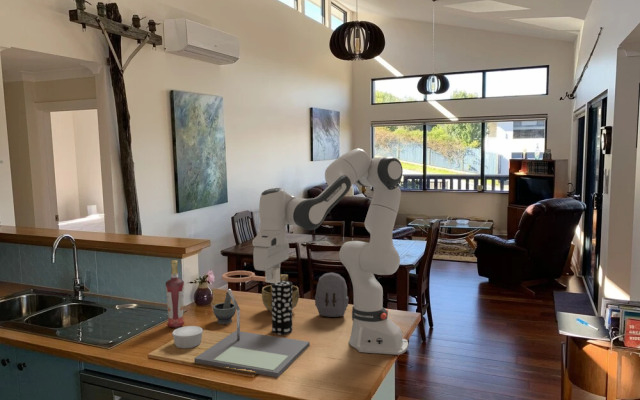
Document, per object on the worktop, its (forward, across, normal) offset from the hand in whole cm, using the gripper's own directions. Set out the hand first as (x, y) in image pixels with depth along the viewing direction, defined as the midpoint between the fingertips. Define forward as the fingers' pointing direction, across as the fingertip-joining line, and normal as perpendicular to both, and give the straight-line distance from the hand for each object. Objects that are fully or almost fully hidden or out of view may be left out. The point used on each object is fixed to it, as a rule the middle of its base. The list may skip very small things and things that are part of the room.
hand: (272, 277), depth 163 cm
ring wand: (+1, 0, -8) cm, 8 cm away
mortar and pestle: (+31, -33, -39) cm, 60 cm away
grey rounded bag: (+31, -55, +2) cm, 63 cm away
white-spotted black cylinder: (+31, -31, -11) cm, 45 cm away
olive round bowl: (+31, -53, -22) cm, 65 cm away
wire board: (+31, -7, -11) cm, 33 cm away
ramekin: (+31, -6, -39) cm, 50 cm away
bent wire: (+30, -10, -21) cm, 38 cm away
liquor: (+31, -20, -55) cm, 66 cm away
